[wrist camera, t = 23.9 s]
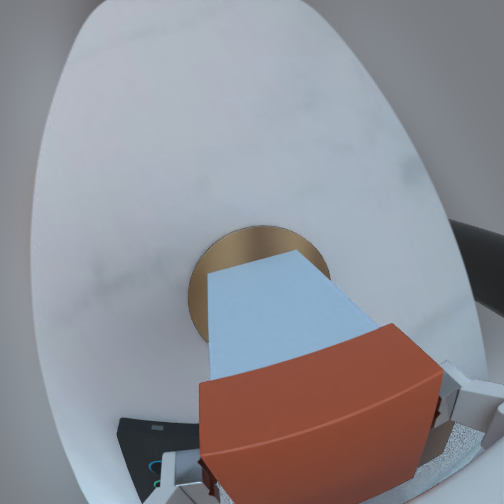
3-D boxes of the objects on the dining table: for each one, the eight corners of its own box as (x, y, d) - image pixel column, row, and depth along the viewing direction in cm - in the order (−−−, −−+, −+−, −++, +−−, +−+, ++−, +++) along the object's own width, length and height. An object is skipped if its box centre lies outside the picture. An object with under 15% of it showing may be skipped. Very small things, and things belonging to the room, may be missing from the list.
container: (315, 328, 22) (300, 243, 20) (414, 478, 8) (445, 369, 6) (228, 352, 21) (201, 270, 19) (258, 532, 8) (199, 456, 6)
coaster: (317, 209, 20) (319, 210, 19) (335, 334, 23) (338, 337, 22) (169, 248, 19) (168, 250, 19) (212, 370, 22) (212, 373, 21)
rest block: (445, 399, 28) (458, 412, 26) (433, 440, 31) (442, 453, 28) (401, 423, 28) (413, 439, 25) (393, 462, 31) (402, 476, 28)
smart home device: (207, 437, 22) (208, 520, 27) (206, 423, 23) (207, 510, 28) (112, 429, 20) (146, 516, 25) (116, 416, 22) (146, 506, 27)
